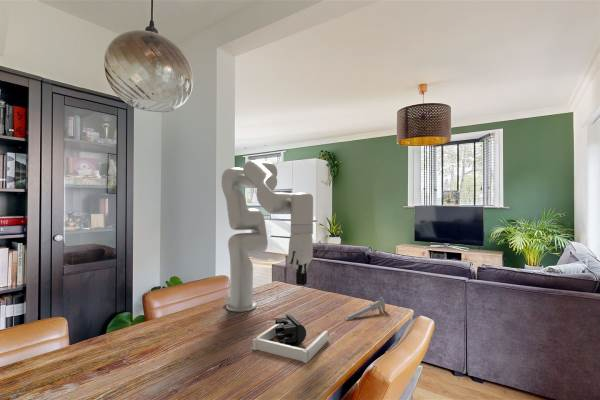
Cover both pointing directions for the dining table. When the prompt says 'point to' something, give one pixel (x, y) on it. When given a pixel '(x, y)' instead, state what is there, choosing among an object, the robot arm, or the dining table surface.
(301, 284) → the robot arm
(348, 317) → the caliper
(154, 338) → the dining table surface
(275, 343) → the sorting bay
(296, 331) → the end cap
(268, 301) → the dining table surface
